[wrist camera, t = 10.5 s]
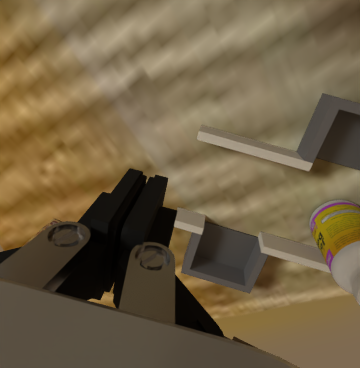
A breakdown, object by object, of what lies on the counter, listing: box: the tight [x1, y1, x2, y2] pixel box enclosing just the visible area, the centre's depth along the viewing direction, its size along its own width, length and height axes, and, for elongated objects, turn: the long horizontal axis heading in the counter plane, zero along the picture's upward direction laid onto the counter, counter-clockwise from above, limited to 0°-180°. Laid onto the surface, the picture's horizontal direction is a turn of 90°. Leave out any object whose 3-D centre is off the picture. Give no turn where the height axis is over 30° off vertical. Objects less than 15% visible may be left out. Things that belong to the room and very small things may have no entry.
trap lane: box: [174, 94, 360, 293], centre depth 34 cm, size 27×27×5 cm
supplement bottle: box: [310, 200, 360, 305], centre depth 31 cm, size 7×7×13 cm
